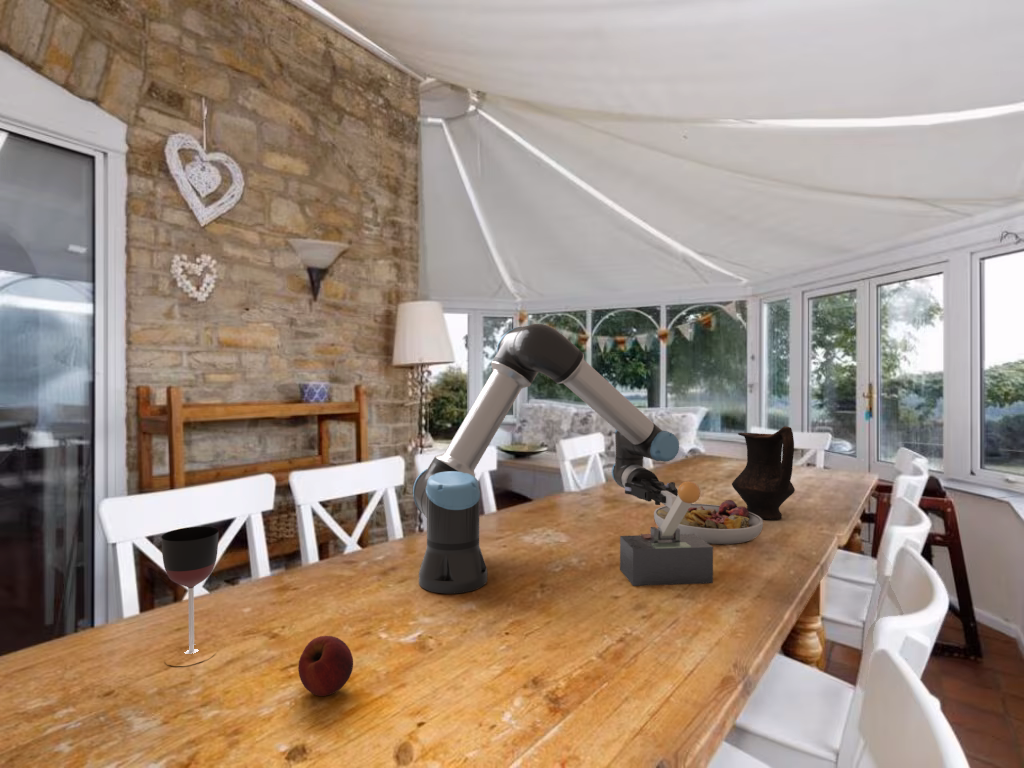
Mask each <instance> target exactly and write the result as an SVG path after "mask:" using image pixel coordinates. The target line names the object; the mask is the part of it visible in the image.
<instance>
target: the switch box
mask: <svg viewBox="0 0 1024 768" xmlns="http://www.w3.org/2000/svg"><path fill="white" fill-rule="evenodd" d="M657 528H658V527H655V526H651V527H650V533H641V534H639V535H619V539H620V540H619V544H620V545H619V570H620V571H621V573H622V574H623V575H624V577H625V578H626V579H627V580H628V581H629V582H630V584H631V585H632V587H635V586H636V587H639V586H664V585H665V586H667V585H671V586H672V585H696V584H700V585H701V584H714V583H713V582H714V546H712V544H708V543H706V542H705V541H704V540H702V539H701V538H699V537H698V536H696V535H695V534H680V529H679V528H677V529H676V531H675V532H674V537H673V539H661V540H659V539H658V529H657Z"/></svg>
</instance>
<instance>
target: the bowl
mask: <svg viewBox="0 0 1024 768" xmlns="http://www.w3.org/2000/svg"><path fill="white" fill-rule="evenodd" d="M669 511H670V508H669V507H667V506H665V505H663V506H660V507H657V508H655V510H654V511H653V518H654V521H655V524H656V526H657V528H660V527H661V525H662V523H663V521H664V520H665V518H666V516H667V514H668V512H669ZM763 520H764V519H762V518H760V517H759V516H758V515H756V514H753V513H751V512H748V510H747V507H745V506H742V505H741V506H738V505H737V503H736V502H735V501H734V500H732V499H727V500H724V501H723V502H722V503H721V504H720V505H719V504H718V505H717V504H708V503H692V504H691V506H690V507H689V509H688V511H687V512H686V514H685V516H684V517H683V519H682V521H681V522H680V524H679V526H678V527H677V528H679V529H680V534H695V535H696V536H698V537H699V538H701V539H702V540H704V541H705V542H706V543H708V544H709V545H734V544H741V543H742V544H743V543H746V542H750V541H752V540H754V539H755V538H757V537H758V536H759V535H760V534H761V532H762V530H763V526H764V521H763Z"/></svg>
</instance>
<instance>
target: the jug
mask: <svg viewBox="0 0 1024 768" xmlns="http://www.w3.org/2000/svg"><path fill="white" fill-rule="evenodd" d="M737 435H739V436H741V437H743V438H744V440H745V445H746V459H747V460H746V465H745V467H744V469H743V470H742V471H741V472H740V473H739V474H738V476H737V477H736V478H734V480H733V481H732V482H731V486H732V488H733V489H734V490H735V492H736V493H737V494H738V495H739V497H740V498H741V499H742V501H744V503H745V504H746V509H747V510H748V512H751V513H753V514H756V515H758V516H759V517H760V518H762V520H773V521H774V520H781V519H782V518H783V517H782V515H783V514H782V512H780V507H781V505H783V503H784V502H786V501H787V500H788V498H789V497H791V496H792V495H793V494H794V493H795V490H796V489H795V487H794V485H793V482H792V481H791V480H792V475H793V464H794V461H793V460H794V454H795V440H794V432H793V429H792V427H791V426H783V427H781V428H780V429H779V430H778V431H776V432H775V433H757V432H756V433H755V432H738V433H737Z"/></svg>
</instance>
